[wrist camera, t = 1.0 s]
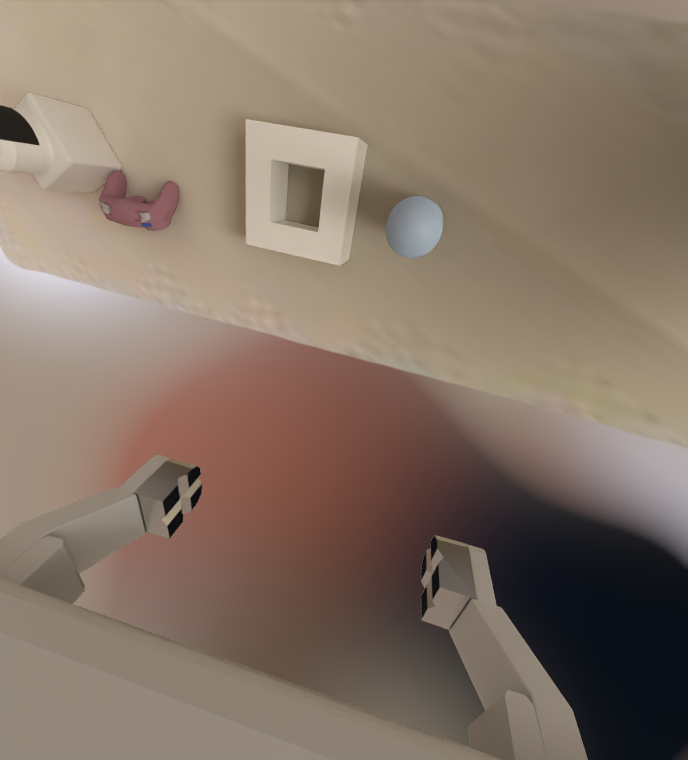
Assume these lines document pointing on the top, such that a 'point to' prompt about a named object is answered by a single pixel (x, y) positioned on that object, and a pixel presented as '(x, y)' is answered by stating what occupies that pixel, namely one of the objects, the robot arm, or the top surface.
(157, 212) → the video game controller
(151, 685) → the robot arm
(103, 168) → the medicine bottle
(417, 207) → the peg
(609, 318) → the top surface
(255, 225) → the socket block
